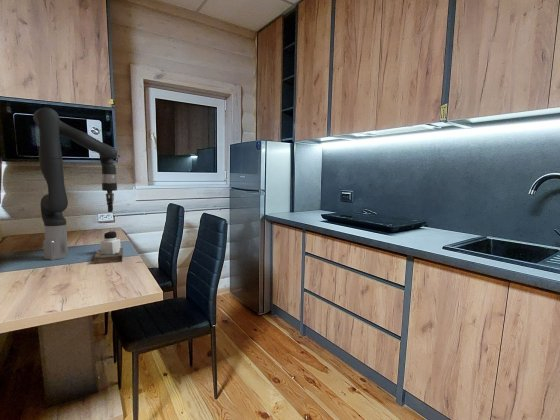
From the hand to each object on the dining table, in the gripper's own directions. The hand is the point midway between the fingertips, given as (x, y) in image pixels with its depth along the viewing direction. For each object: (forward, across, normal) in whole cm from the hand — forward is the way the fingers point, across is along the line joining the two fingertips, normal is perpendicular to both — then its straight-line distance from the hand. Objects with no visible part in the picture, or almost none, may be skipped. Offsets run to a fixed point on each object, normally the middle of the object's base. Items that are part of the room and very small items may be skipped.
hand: (110, 211), depth 173 cm
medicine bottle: (+23, +10, 0) cm, 25 cm away
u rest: (+22, +20, 0) cm, 30 cm away
